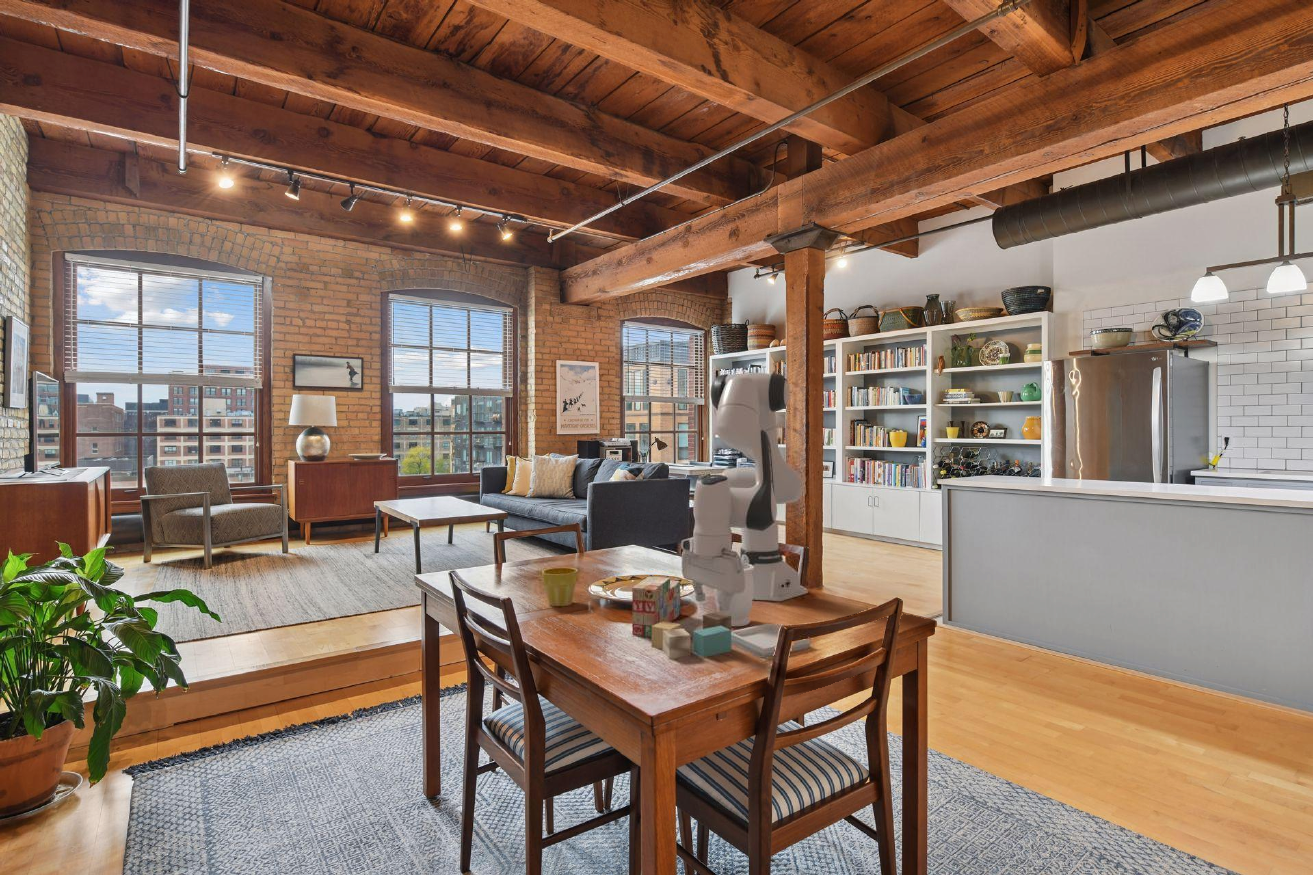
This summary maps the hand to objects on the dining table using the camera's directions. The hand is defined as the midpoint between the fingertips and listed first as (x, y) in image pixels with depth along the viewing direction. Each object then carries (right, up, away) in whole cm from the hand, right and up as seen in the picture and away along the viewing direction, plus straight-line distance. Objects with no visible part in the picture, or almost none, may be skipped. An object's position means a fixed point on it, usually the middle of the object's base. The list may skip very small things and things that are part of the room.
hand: (712, 605), depth 156 cm
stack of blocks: (-12, -11, +22) cm, 27 cm away
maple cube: (-8, -11, -1) cm, 14 cm away
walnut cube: (+2, -11, +12) cm, 17 cm away
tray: (+14, -11, +5) cm, 18 cm away
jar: (+8, -10, +23) cm, 26 cm away
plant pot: (-41, -10, +41) cm, 59 cm away
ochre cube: (-10, -11, +5) cm, 16 cm away
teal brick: (0, -11, +1) cm, 11 cm away
